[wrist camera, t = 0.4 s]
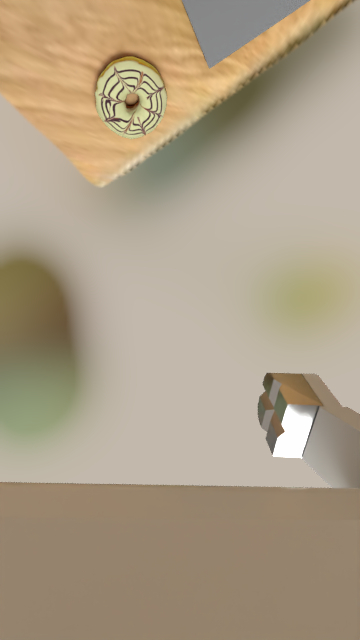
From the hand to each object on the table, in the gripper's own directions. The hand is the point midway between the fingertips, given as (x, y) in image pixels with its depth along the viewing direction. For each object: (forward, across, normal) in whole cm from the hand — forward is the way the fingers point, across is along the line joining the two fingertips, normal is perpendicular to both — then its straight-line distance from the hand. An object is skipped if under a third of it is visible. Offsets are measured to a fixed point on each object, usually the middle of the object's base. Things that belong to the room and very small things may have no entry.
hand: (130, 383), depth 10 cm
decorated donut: (+54, +5, -16) cm, 56 cm away
